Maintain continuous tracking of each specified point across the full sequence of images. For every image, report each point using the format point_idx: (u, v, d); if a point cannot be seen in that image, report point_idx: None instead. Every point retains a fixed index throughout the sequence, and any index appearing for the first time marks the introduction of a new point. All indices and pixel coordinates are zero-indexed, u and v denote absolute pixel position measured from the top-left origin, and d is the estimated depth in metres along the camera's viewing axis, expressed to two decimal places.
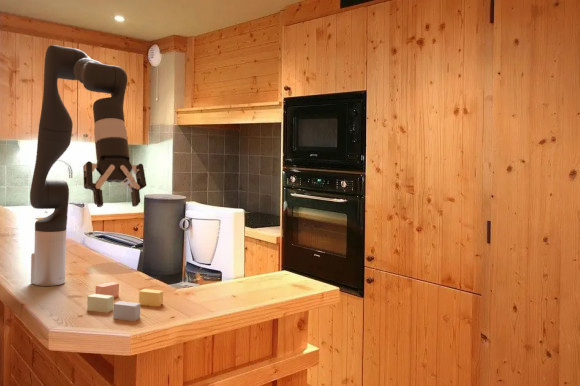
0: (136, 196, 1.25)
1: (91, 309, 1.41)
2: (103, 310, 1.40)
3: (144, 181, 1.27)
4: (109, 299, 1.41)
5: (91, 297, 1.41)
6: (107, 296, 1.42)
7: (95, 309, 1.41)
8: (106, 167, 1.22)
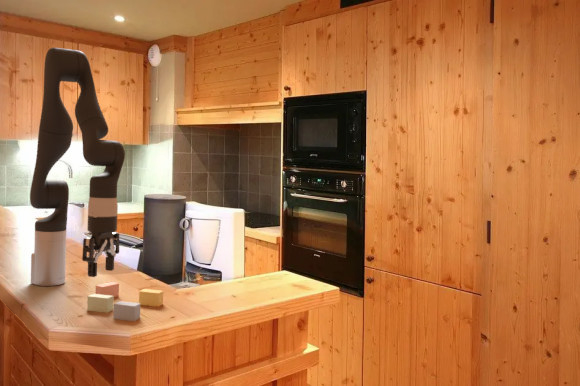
0: (113, 263, 1.45)
1: (91, 309, 1.41)
2: (103, 310, 1.40)
3: (118, 248, 1.47)
4: (109, 299, 1.41)
5: (91, 297, 1.41)
6: (107, 296, 1.42)
7: (95, 309, 1.41)
8: (101, 241, 1.38)
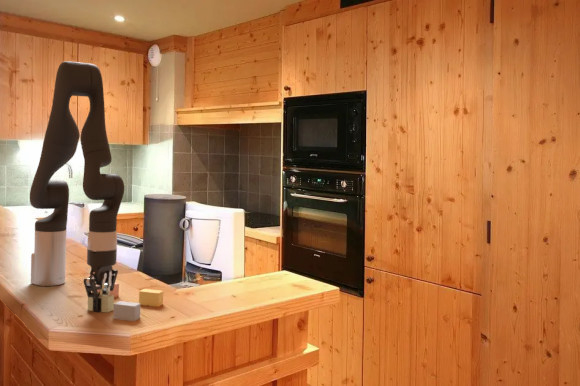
0: None
1: (92, 309, 1.41)
2: (104, 309, 1.40)
3: (113, 286, 1.46)
4: (109, 298, 1.41)
5: (91, 297, 1.41)
6: (107, 295, 1.42)
7: None
8: (100, 277, 1.39)
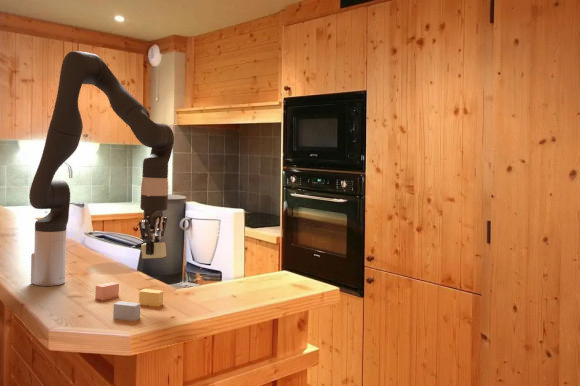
0: None
1: (146, 256, 1.48)
2: (157, 255, 1.47)
3: (163, 232, 1.53)
4: (162, 244, 1.48)
5: (144, 245, 1.48)
6: (159, 242, 1.49)
7: (150, 255, 1.48)
8: (153, 221, 1.46)
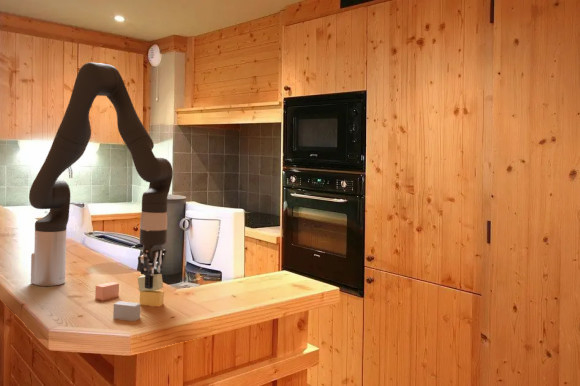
0: None
1: (143, 289, 1.49)
2: (154, 287, 1.48)
3: (162, 264, 1.54)
4: (158, 276, 1.49)
5: (141, 277, 1.49)
6: (156, 274, 1.50)
7: (146, 288, 1.49)
8: (152, 255, 1.47)
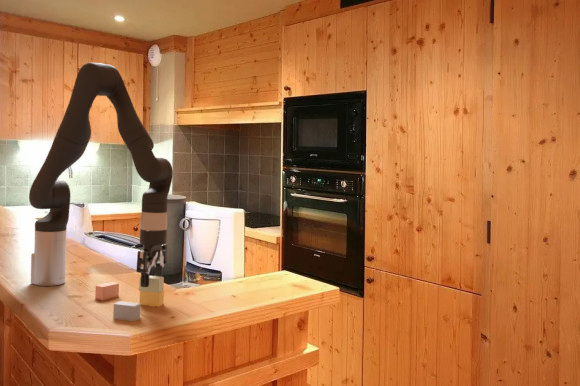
0: (161, 273, 1.54)
1: (143, 289, 1.49)
2: (155, 290, 1.48)
3: (166, 259, 1.56)
4: (160, 280, 1.49)
5: None
6: (158, 277, 1.50)
7: (147, 289, 1.49)
8: (152, 253, 1.47)
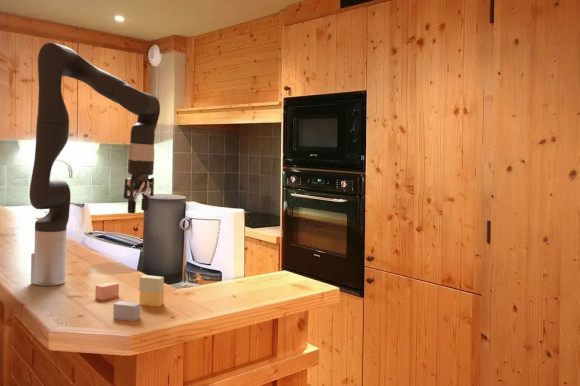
0: (148, 203, 1.64)
1: (143, 289, 1.49)
2: (155, 290, 1.48)
3: (153, 191, 1.66)
4: (160, 280, 1.49)
5: (143, 278, 1.49)
6: (158, 277, 1.50)
7: (147, 289, 1.49)
8: (139, 182, 1.57)
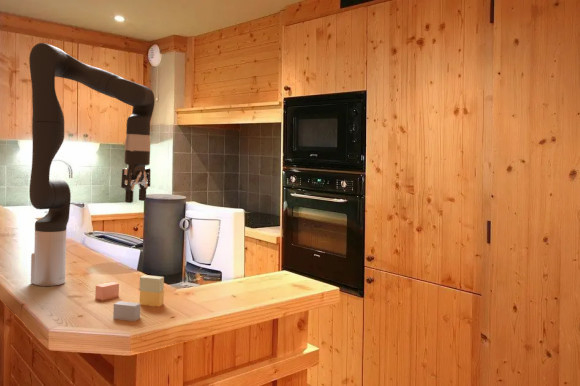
0: (145, 194, 1.66)
1: (143, 289, 1.49)
2: (155, 290, 1.48)
3: (149, 182, 1.68)
4: (160, 280, 1.49)
5: (143, 278, 1.49)
6: (158, 277, 1.50)
7: (147, 289, 1.49)
8: (136, 172, 1.59)
